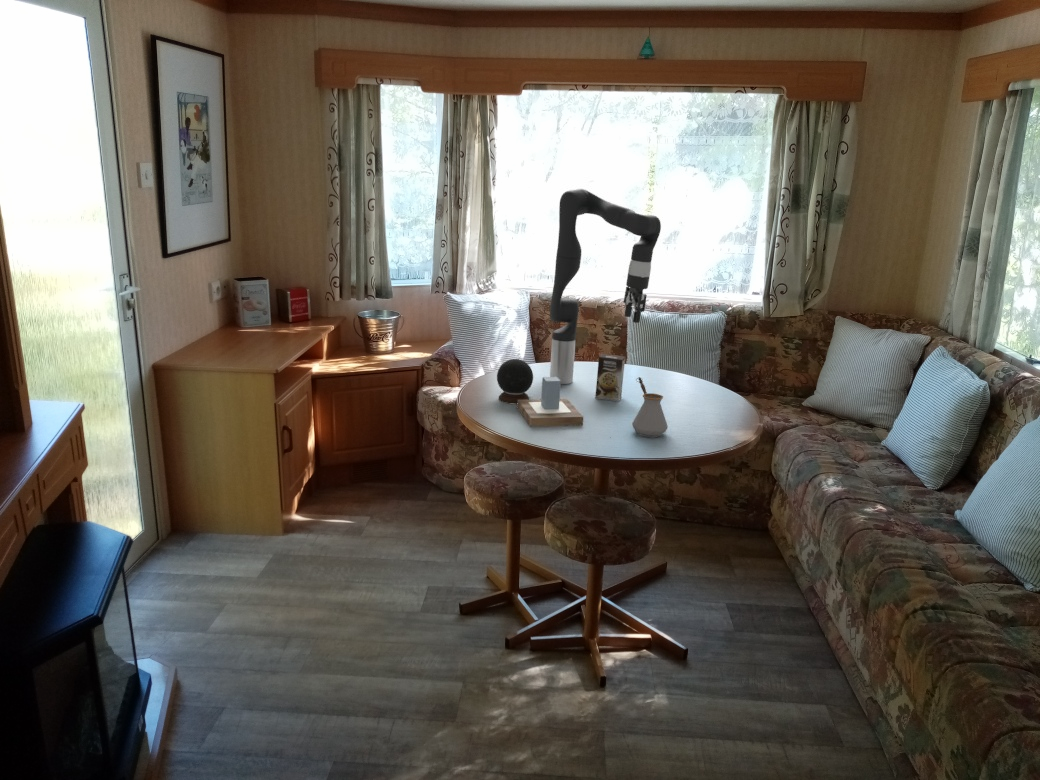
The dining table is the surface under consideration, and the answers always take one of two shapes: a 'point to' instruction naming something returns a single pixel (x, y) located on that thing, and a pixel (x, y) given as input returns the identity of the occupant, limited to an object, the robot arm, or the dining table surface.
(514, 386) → the black ball on pedestal
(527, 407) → the wooden board
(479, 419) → the dining table surface
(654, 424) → the coffee pot
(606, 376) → the coffee box
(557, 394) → the slate block
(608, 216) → the robot arm
